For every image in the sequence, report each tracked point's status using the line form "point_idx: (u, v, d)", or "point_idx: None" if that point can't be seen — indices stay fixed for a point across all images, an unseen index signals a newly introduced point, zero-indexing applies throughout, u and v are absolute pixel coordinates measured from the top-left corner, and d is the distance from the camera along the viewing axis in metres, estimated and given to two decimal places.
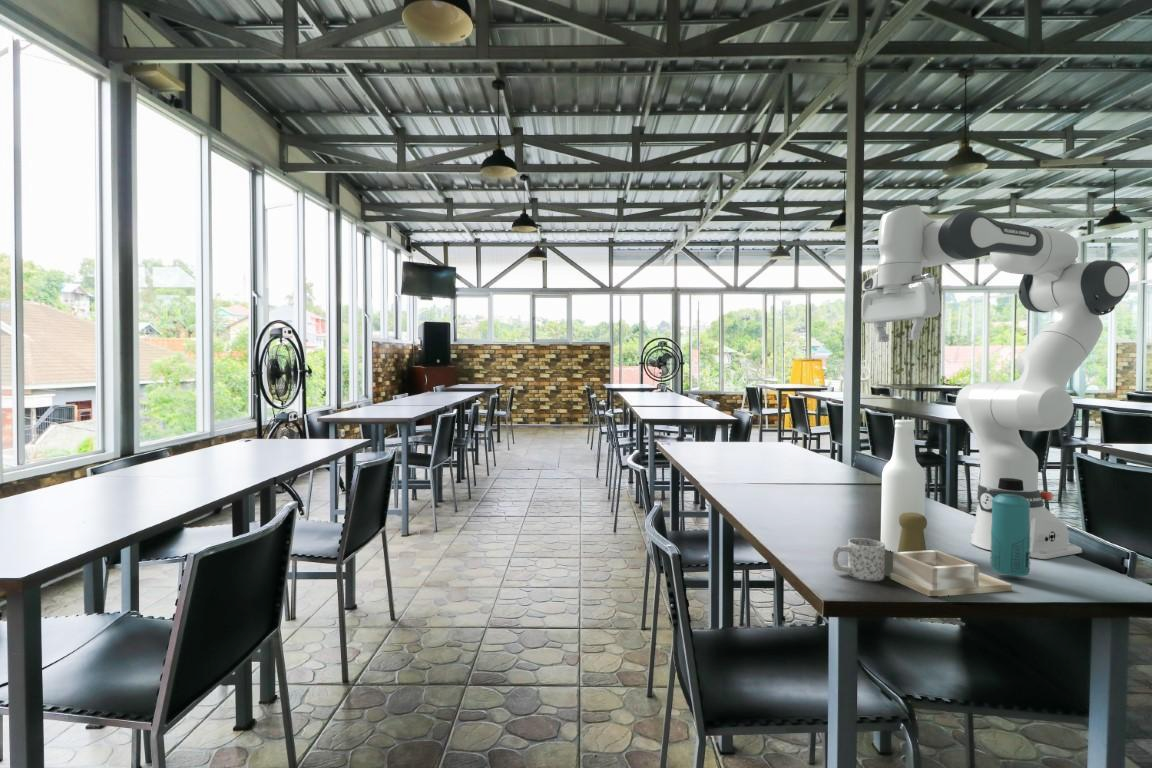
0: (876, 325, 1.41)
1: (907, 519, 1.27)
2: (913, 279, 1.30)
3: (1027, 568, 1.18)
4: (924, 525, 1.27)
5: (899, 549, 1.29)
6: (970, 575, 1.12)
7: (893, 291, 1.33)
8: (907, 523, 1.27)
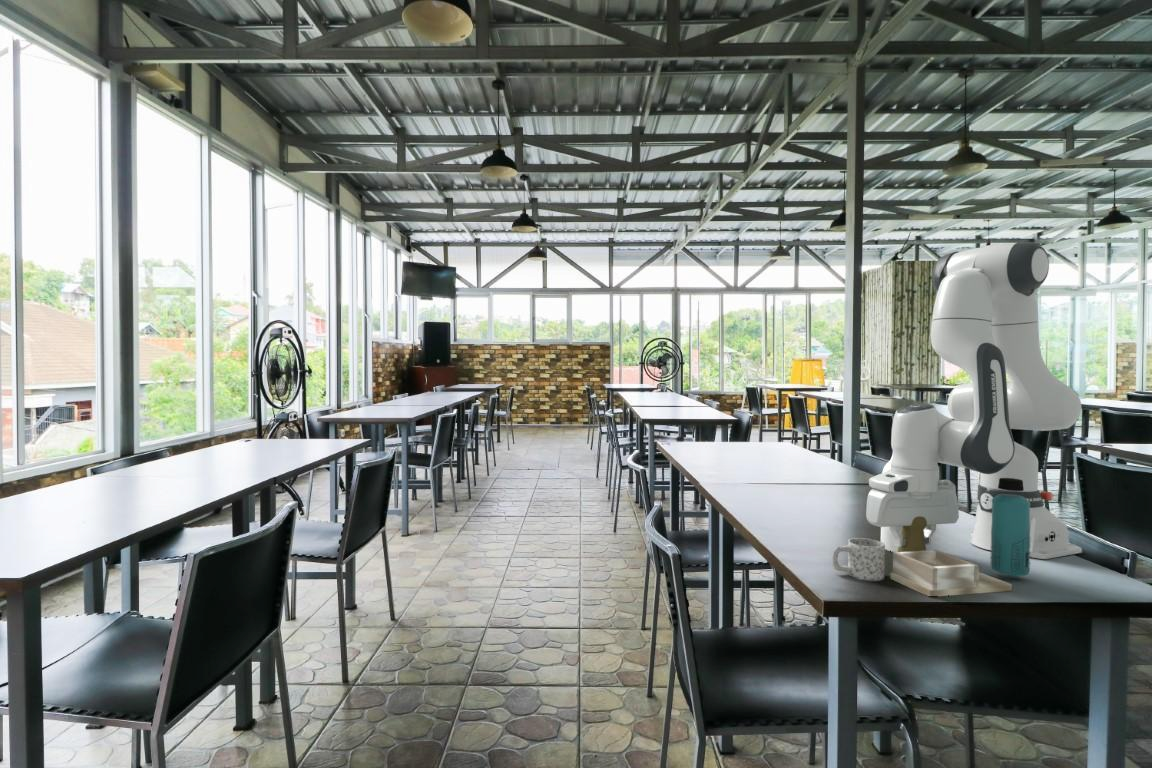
0: (899, 529, 1.27)
1: None
2: None
3: (1027, 568, 1.18)
4: (924, 525, 1.27)
5: (899, 549, 1.29)
6: (970, 575, 1.12)
7: (929, 497, 1.26)
8: None
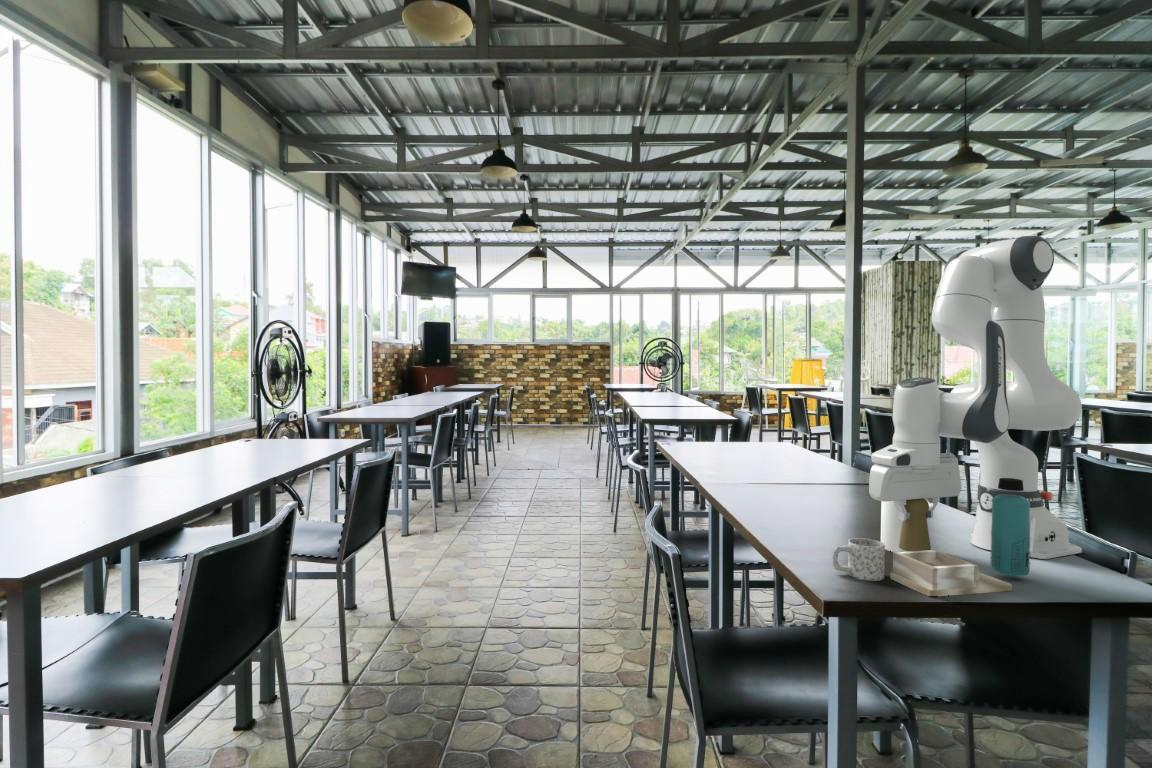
0: (903, 503, 1.27)
1: (909, 503, 1.28)
2: None
3: (1027, 568, 1.18)
4: (926, 509, 1.27)
5: (902, 533, 1.30)
6: (970, 575, 1.12)
7: (932, 471, 1.26)
8: (909, 507, 1.28)
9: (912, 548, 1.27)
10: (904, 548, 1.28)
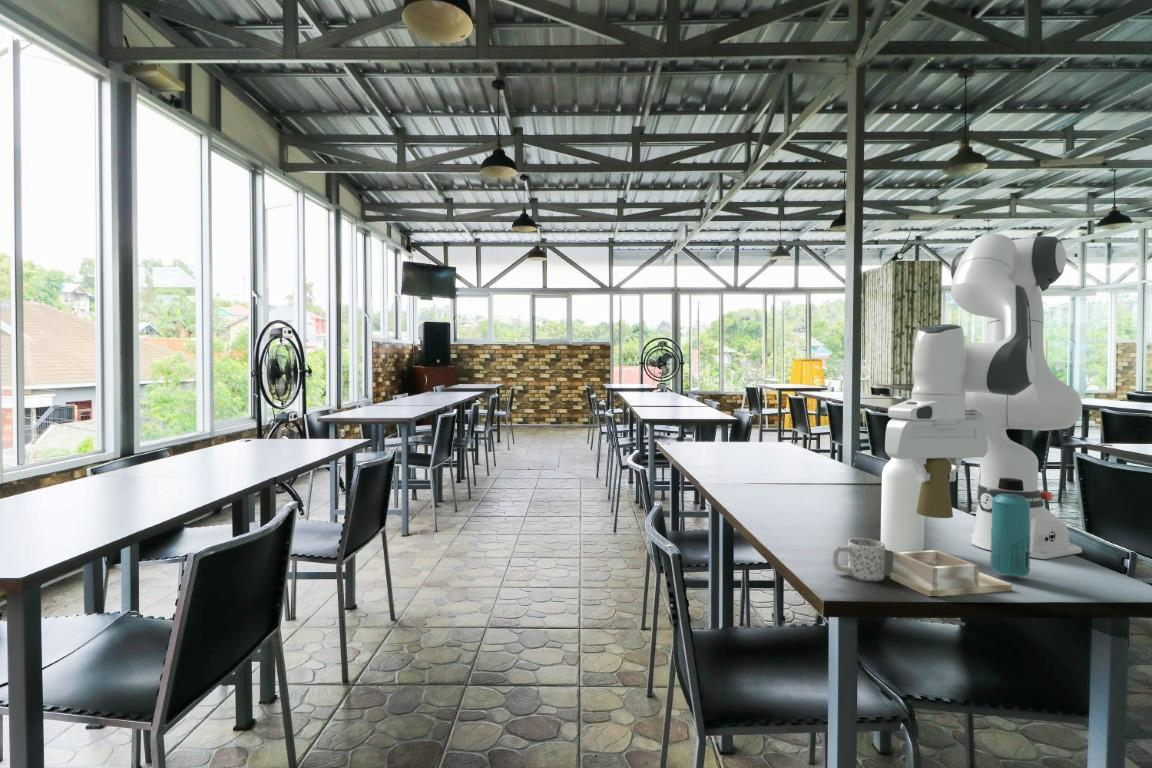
0: (923, 462, 1.14)
1: (930, 463, 1.14)
2: None
3: (1027, 568, 1.18)
4: (948, 469, 1.14)
5: (920, 497, 1.16)
6: (970, 575, 1.12)
7: (955, 427, 1.13)
8: (929, 467, 1.14)
9: (932, 513, 1.14)
10: (923, 513, 1.15)
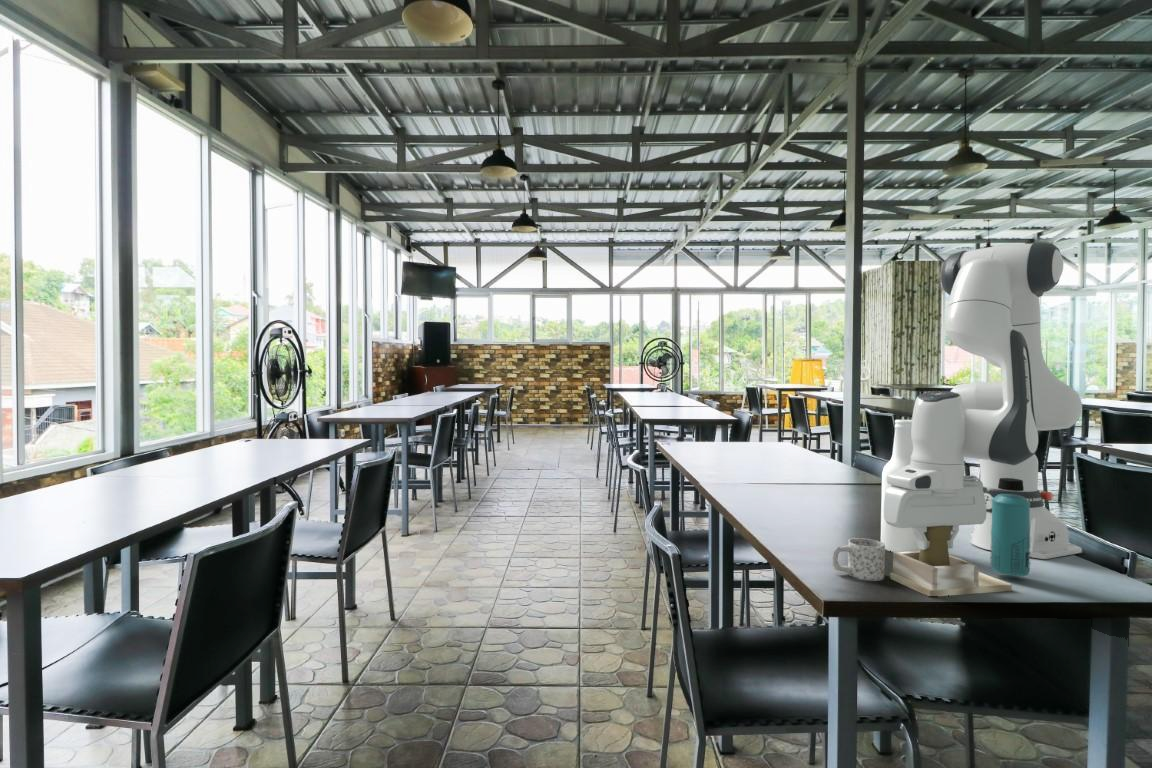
0: (923, 530, 1.14)
1: (929, 529, 1.14)
2: None
3: (1027, 568, 1.18)
4: (948, 536, 1.14)
5: None
6: (970, 575, 1.12)
7: (954, 495, 1.13)
8: (928, 533, 1.15)
9: None
10: None
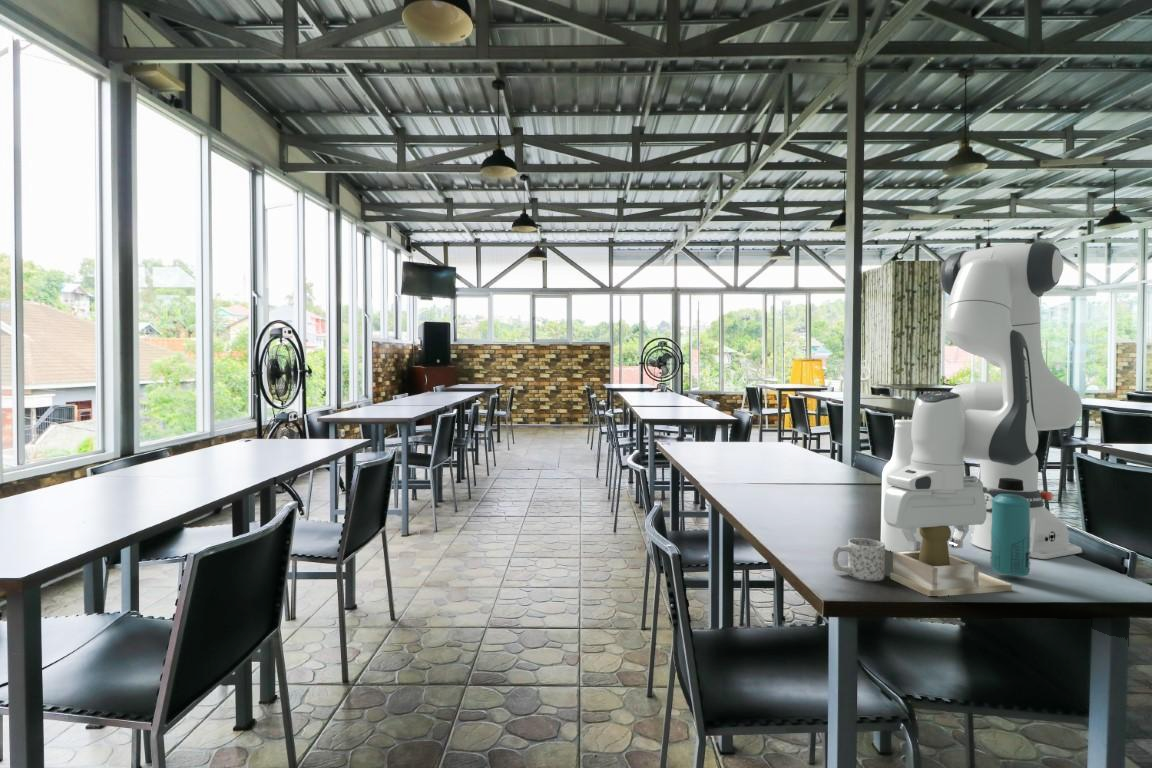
0: (913, 531, 1.14)
1: (929, 529, 1.14)
2: None
3: (1027, 568, 1.18)
4: (948, 536, 1.14)
5: None
6: (970, 575, 1.12)
7: (954, 496, 1.13)
8: (928, 533, 1.14)
9: None
10: None
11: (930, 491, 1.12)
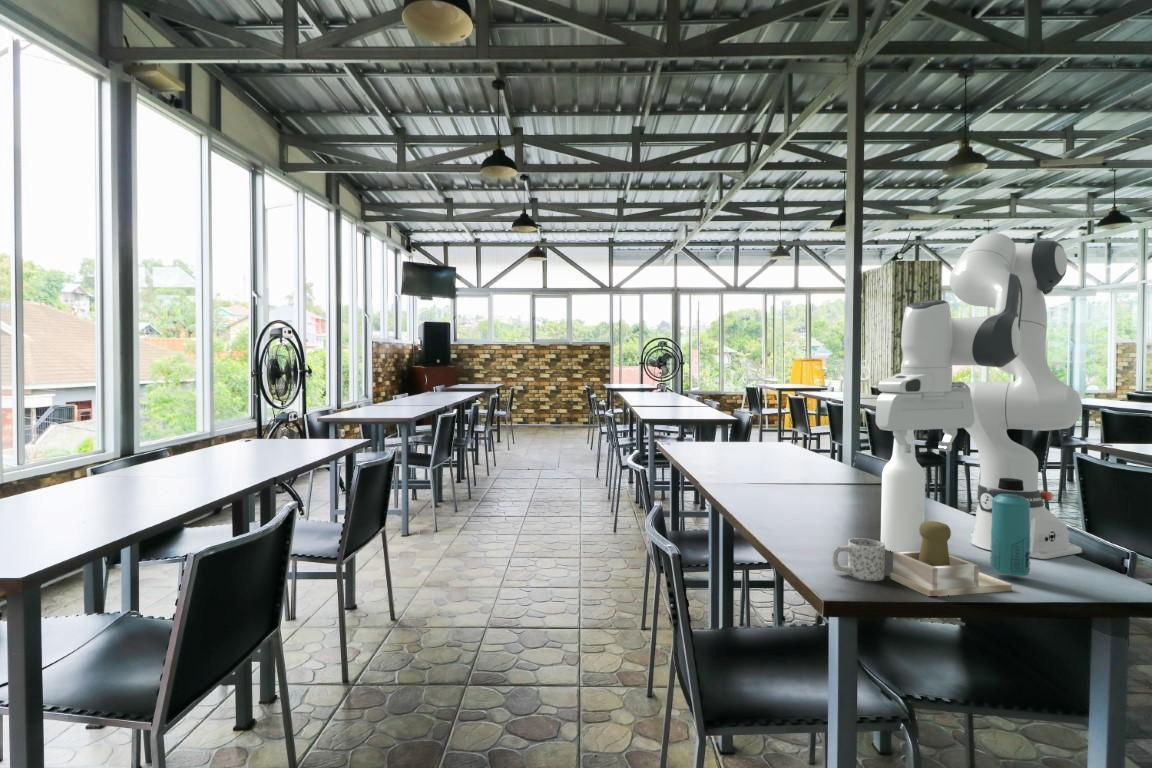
0: (904, 434, 1.18)
1: (929, 529, 1.14)
2: None
3: (1027, 568, 1.18)
4: (948, 536, 1.14)
5: None
6: (970, 575, 1.12)
7: (943, 399, 1.18)
8: (928, 533, 1.15)
9: None
10: None
11: (920, 394, 1.16)
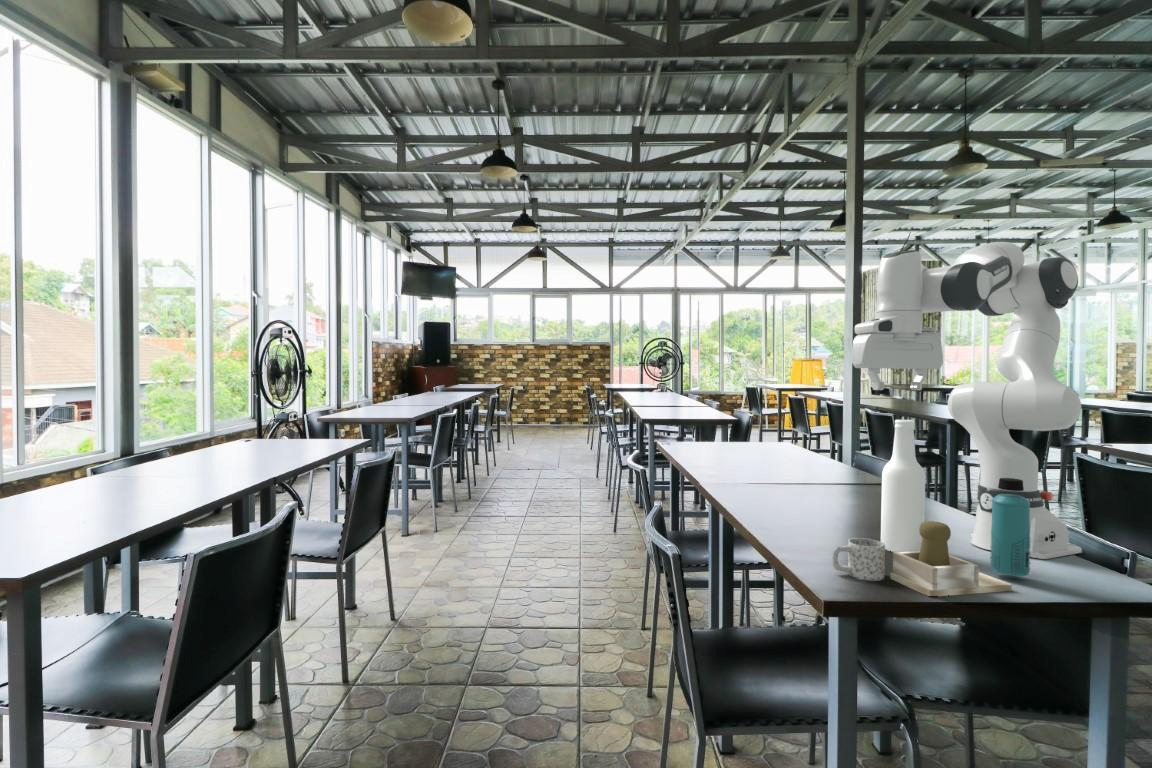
0: (877, 371, 1.29)
1: (929, 529, 1.14)
2: None
3: (1027, 568, 1.18)
4: (948, 536, 1.14)
5: None
6: (970, 575, 1.12)
7: (913, 340, 1.28)
8: (928, 533, 1.15)
9: None
10: None
11: (892, 334, 1.27)
